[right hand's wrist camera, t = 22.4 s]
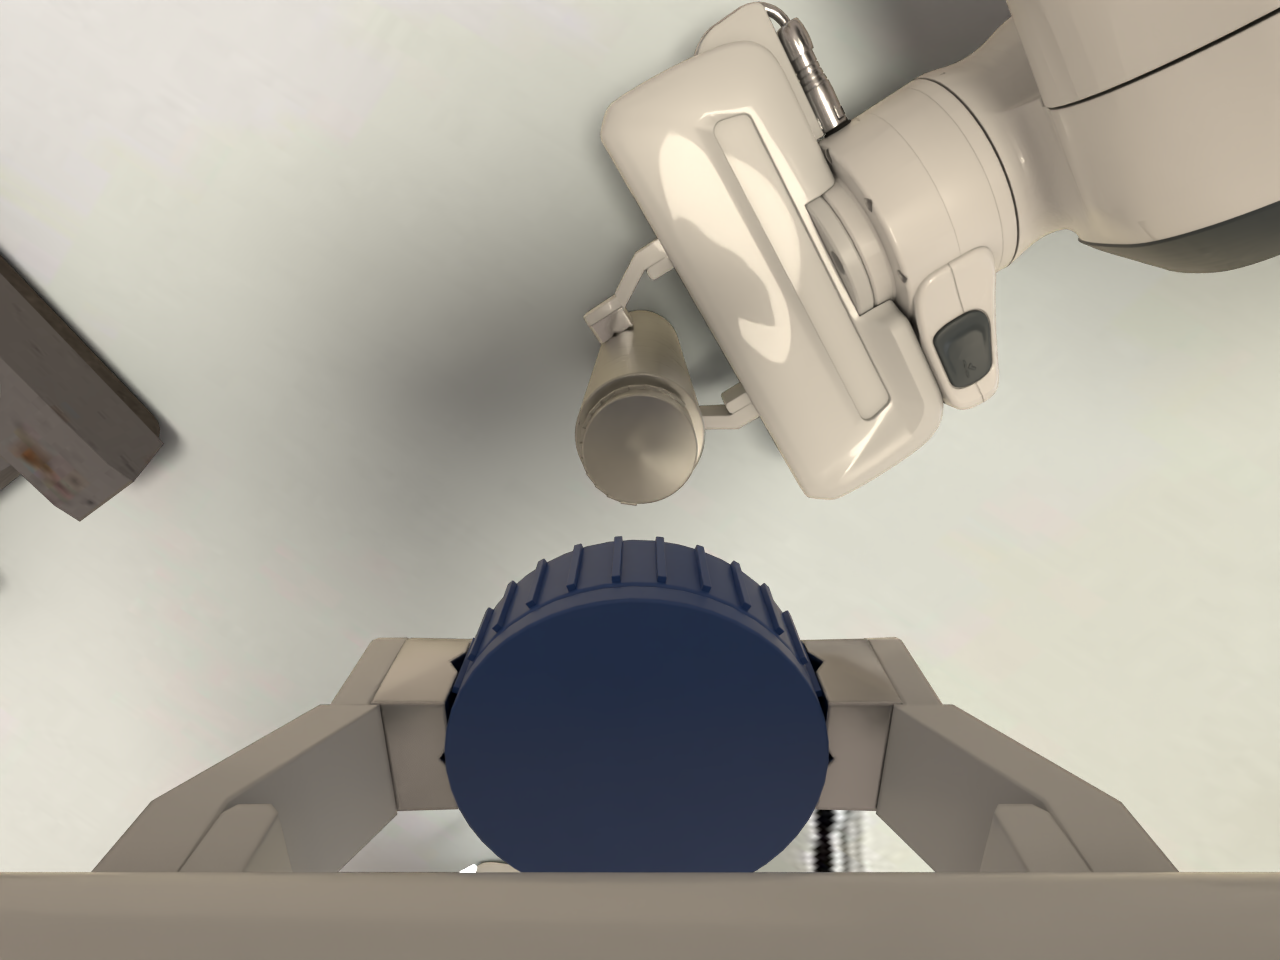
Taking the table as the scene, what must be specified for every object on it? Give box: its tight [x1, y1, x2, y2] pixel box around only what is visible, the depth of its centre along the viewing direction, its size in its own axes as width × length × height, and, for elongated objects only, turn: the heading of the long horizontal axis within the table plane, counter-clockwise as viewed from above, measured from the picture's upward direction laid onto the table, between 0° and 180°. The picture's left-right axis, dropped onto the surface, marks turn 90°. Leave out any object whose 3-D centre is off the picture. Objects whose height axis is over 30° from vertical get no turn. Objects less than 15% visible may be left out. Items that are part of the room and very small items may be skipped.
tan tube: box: [575, 310, 705, 506], centre depth 29 cm, size 4×4×18 cm
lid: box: [444, 536, 829, 872], centre depth 10 cm, size 5×5×2 cm
